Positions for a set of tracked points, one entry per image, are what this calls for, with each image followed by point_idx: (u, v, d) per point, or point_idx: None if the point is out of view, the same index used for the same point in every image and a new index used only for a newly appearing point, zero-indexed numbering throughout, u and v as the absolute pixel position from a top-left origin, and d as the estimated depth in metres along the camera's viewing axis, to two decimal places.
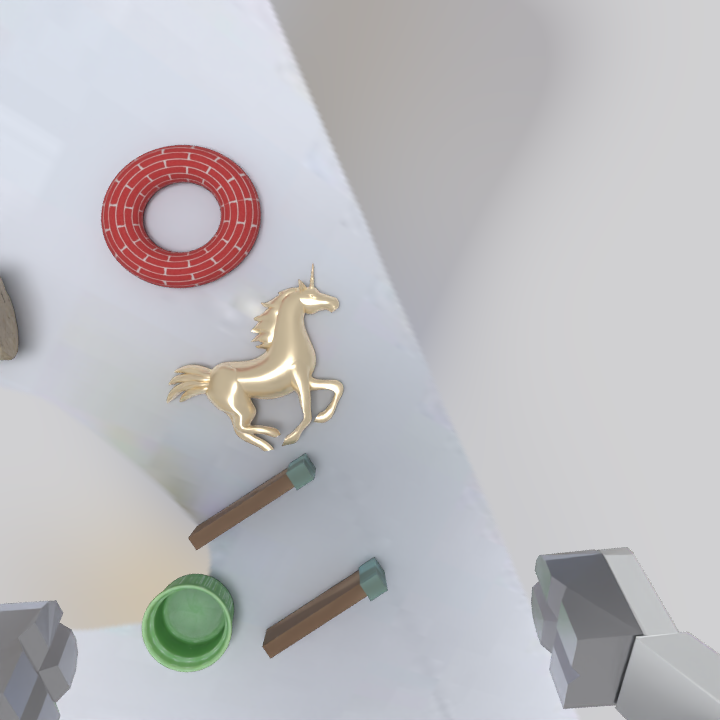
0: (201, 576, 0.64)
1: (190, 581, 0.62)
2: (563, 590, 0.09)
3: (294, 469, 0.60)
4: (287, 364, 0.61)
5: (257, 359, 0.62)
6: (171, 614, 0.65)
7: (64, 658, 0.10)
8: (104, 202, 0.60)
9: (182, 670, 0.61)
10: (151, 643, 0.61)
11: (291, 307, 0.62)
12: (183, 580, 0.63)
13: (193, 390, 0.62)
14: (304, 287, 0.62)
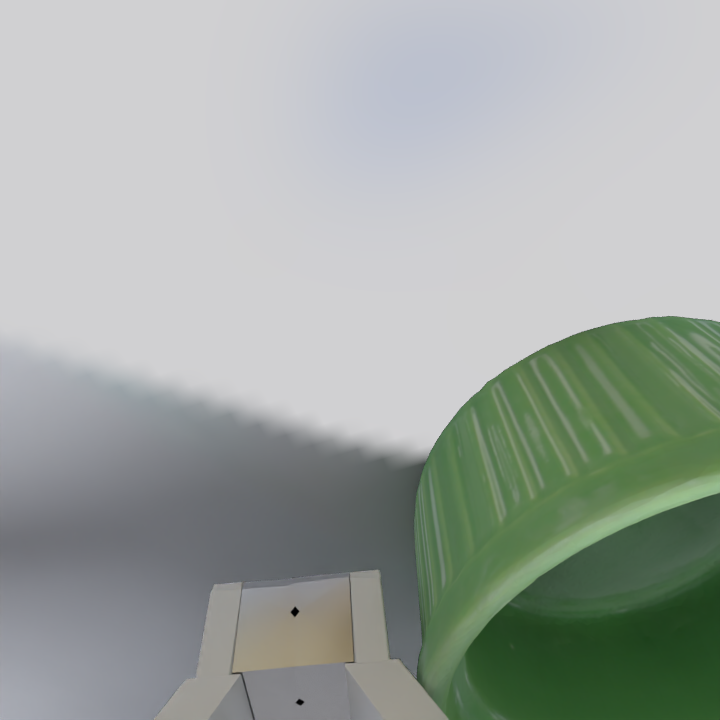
0: None
1: None
2: (298, 614, 0.09)
3: None
4: None
5: None
6: None
7: None
8: None
9: None
10: None
11: None
12: None
13: None
14: None
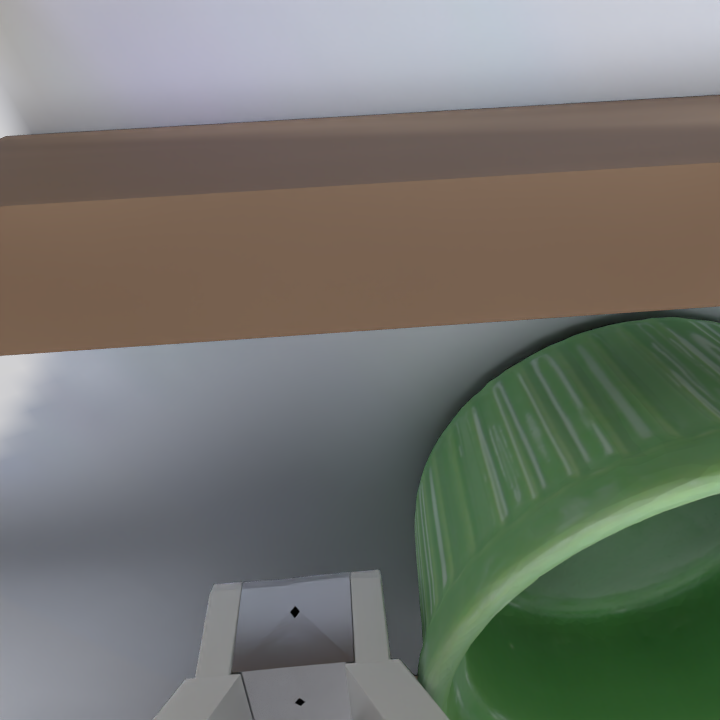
0: None
1: None
2: (299, 614, 0.09)
3: None
4: None
5: None
6: None
7: None
8: None
9: None
10: None
11: None
12: None
13: None
14: None
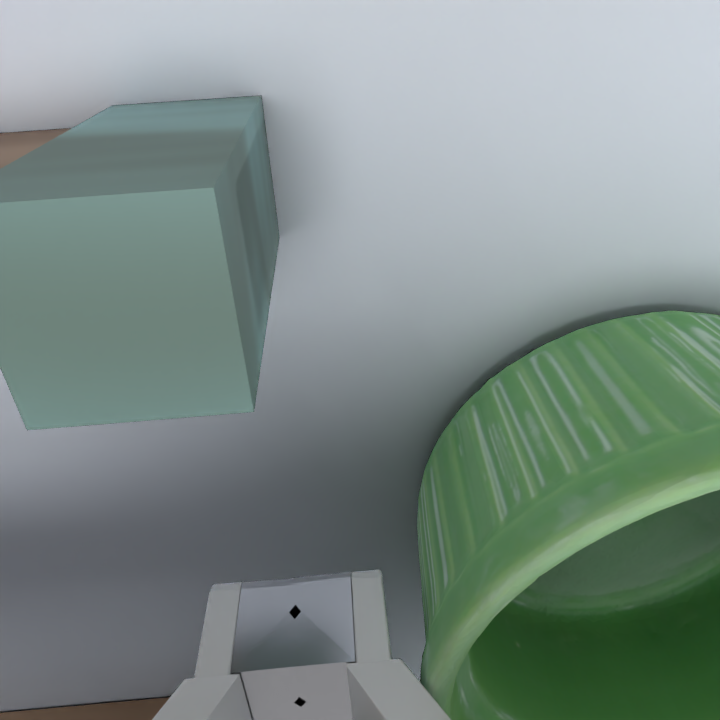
0: None
1: None
2: (300, 614, 0.09)
3: (71, 214, 0.04)
4: None
5: None
6: None
7: None
8: None
9: None
10: None
11: None
12: None
13: None
14: None
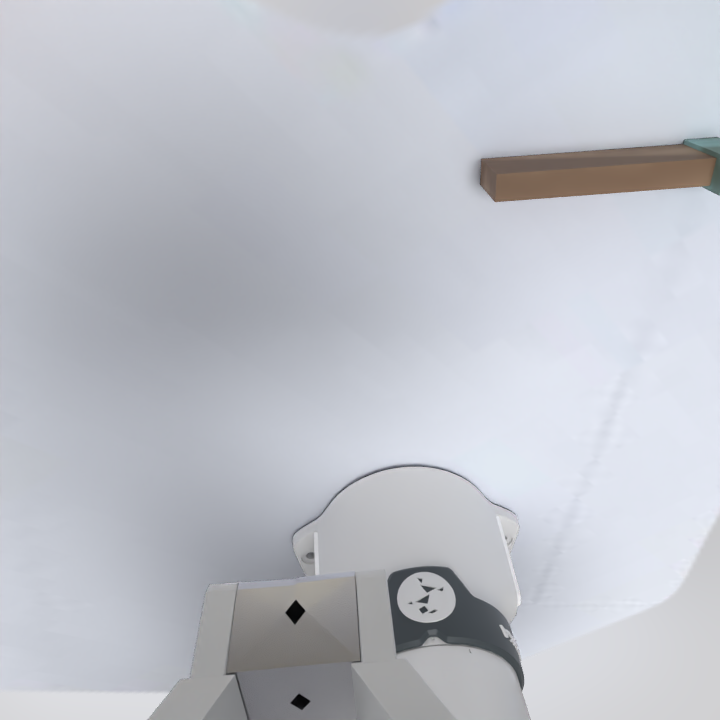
0: None
1: None
2: (304, 614, 0.09)
3: None
4: None
5: None
6: None
7: None
8: None
9: None
10: None
11: None
12: None
13: None
14: None
